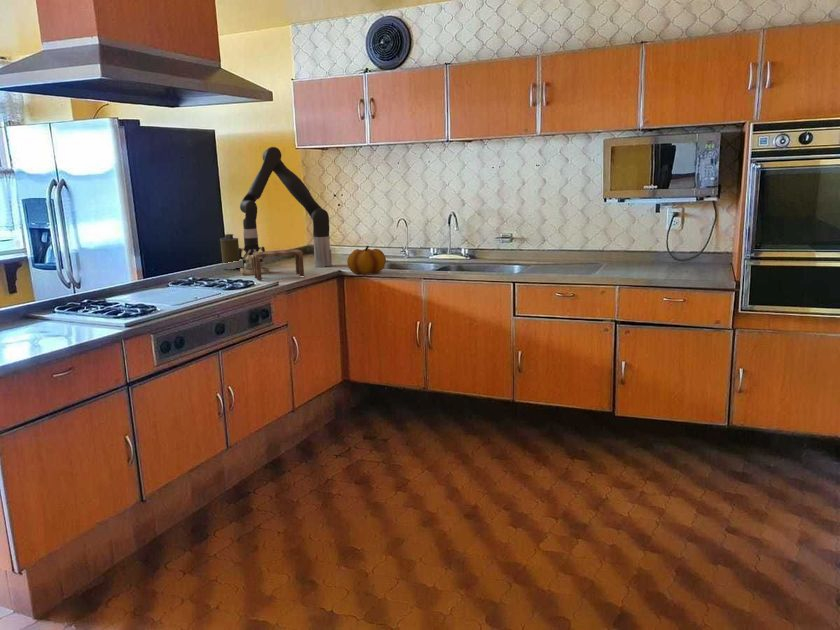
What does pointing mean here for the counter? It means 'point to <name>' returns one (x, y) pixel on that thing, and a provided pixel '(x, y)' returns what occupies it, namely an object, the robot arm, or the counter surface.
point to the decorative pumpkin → (366, 261)
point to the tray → (249, 267)
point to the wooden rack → (295, 252)
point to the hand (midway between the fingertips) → (253, 266)
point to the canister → (229, 248)
